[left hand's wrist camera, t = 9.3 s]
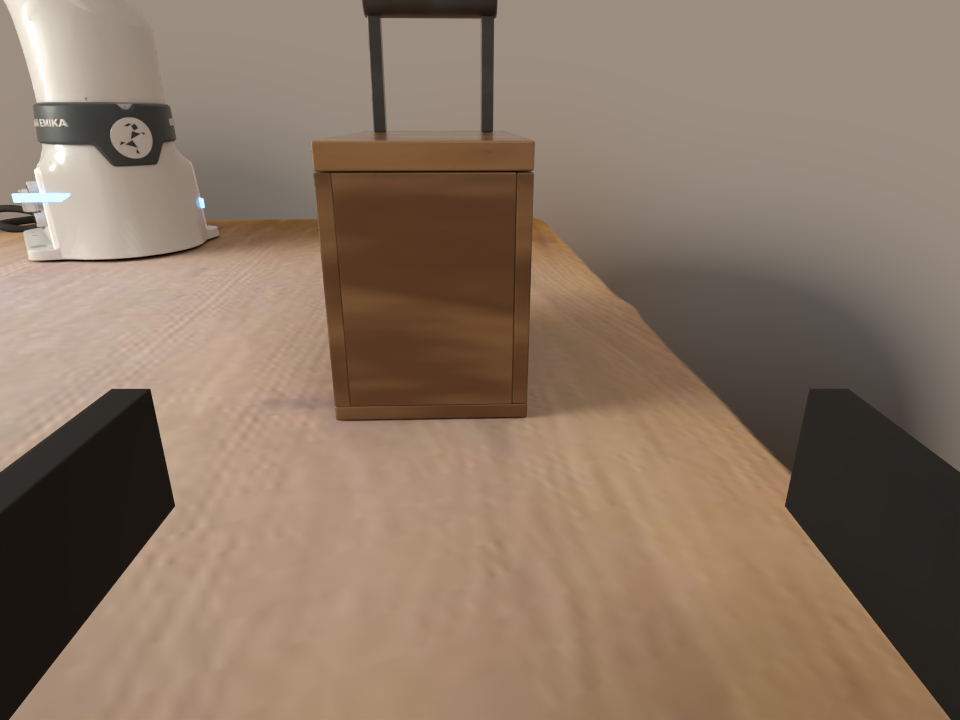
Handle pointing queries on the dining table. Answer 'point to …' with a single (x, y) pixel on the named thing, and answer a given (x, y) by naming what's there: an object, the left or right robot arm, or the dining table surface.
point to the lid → (426, 146)
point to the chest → (427, 291)
